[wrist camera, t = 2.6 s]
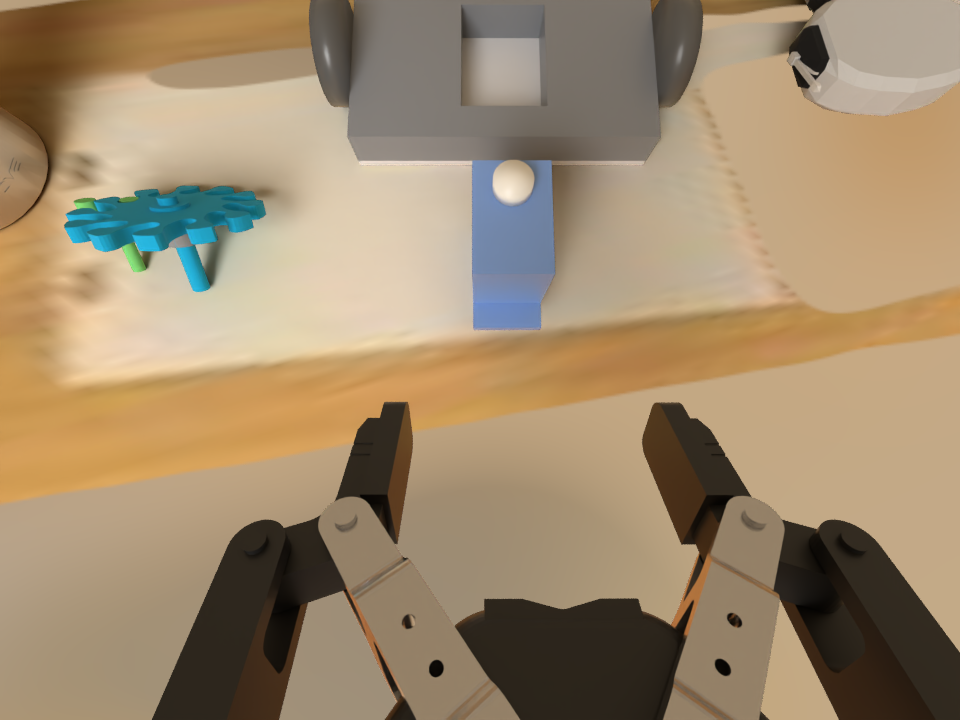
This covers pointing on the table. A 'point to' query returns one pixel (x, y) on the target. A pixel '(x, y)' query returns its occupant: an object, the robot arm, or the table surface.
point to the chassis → (504, 77)
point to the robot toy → (877, 54)
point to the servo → (511, 242)
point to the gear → (163, 223)
